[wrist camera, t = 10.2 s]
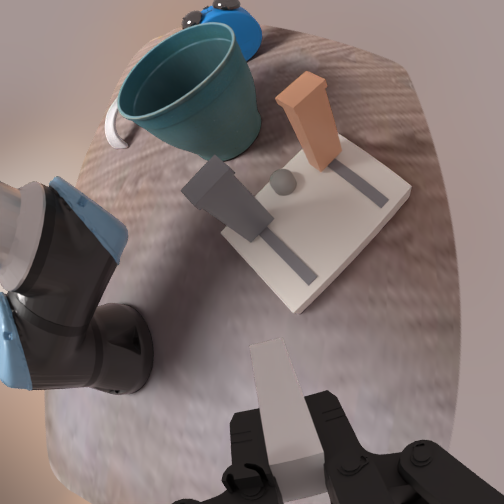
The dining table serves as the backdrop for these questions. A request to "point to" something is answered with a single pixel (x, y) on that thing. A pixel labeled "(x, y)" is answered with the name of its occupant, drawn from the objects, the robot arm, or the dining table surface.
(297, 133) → the terracotta paddle
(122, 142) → the spoon rest
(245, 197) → the gray capped upright block
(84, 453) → the dining table surface
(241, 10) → the alarm clock
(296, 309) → the console
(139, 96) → the flower pot
